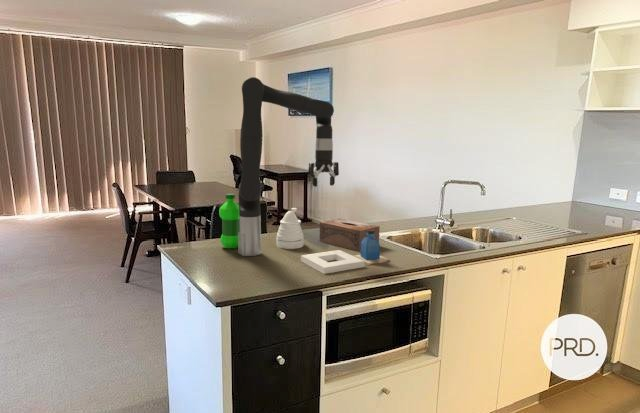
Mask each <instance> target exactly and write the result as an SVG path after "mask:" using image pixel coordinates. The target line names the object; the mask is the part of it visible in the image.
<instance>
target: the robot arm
mask: <svg viewBox="0 0 640 413" xmlns="http://www.w3.org/2000/svg"><path fill="white" fill-rule="evenodd" d="M241 94H242V108H243V109H242V110H243V111H242V120H241V127H240V139H239V142H240V143H239V144H240V145H239V148H240V158H241V159H240V160H241V180H240V183H239V185H238V205H239V230H240V232H238V247H237V248H238V249H237V250H238V254H239V255H241V257H255V256H259V255H261V254H262V242H261V241H262V238H261V236H262V228H261V227H262V226H261V222H262V220H261V216H262V214H261V212H262V210H261V197H260V196H261V193H262V189H261V188H262V187H261V173H260V172H261V171H260V170H261V169H260V168H261V160H262V152H263V121H262V105H263V103H269V104H273V105H276V106H279V107H284V108H286V109H289V110H292V111H296V112H299V113H302V114H307V115H312V116H315V122H316V124H315V125H316V129H315V130H316V131H315V133H316V134H315V136H316V137H315V155H314V158H315V162H309V163H308V174H307V176H308V177H309V178H310V177H311V178H312V180H311V181H312V183H311V184H312V186H313V187H314V188H317V187H318V176H319V175H320V174H321V173H328V175H329V186H334V185H335V182H336V181H335V180H336V179H335V178H336V177H337V176H339V175H340V170H339V162H337V161H333V150H334V149H333V147H334V144H333V142H334V141H333V126H332V116H333V115H334V112H335V109H334V106H333V105H332V103H331V102H328V101H325V100H321V99H315V98H312V97H309V96H305V95H303V94H299V93H296V92H292V91H291V92H290V91H285V90H280V89H277V88H273V87H271V86H268V85H266V84H264V83H263V81H262V80H261V79H259V78H257V77H254V76H252V77H251V76H250V77H247V78H246V79H245V80H244V81H243V83H242V85H241ZM332 167H333V168H332Z"/></svg>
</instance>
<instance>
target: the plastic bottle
mask: <svg viewBox="0 0 640 413" xmlns="http://www.w3.org/2000/svg"><path fill="white" fill-rule="evenodd" d="M225 199H226V201H225V203H223V204H222V205H221V206H219V210H218V212H219V213H218V214H219V217H220V219H221V223H222V224H221V225H222V226H221V228H222V229H221V230H222V234H221V236H220V243H221V245H222V246H223V247H224V248H226V249H227V248H234V249H237V248H238V232H240V226H239V204H238V203H236V202H235V199H236V194H235V193H225ZM236 247H237V248H236Z"/></svg>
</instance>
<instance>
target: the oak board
mask: <svg viewBox="0 0 640 413" xmlns="http://www.w3.org/2000/svg"><path fill="white" fill-rule="evenodd" d="M353 256H354V257H356V258H359V259H361V260H363V261H364V265H366V266H369V265H376V264H382V263H387V262H391V259H390V258H388V257H386V256H383V255H380V259H375V260H365V259H364V258H362V257H361V253H360V254H356V255H355V254H354V255H353Z"/></svg>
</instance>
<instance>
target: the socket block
mask: <svg viewBox="0 0 640 413" xmlns="http://www.w3.org/2000/svg"><path fill="white" fill-rule="evenodd" d="M300 262H301V263H304V264H305V265H307V266H309V267H310V268H312V269H315V271H318V272H320V273H321V274H324V275H325V274H333V273H337V272H344V271H348V270H354V269H359V268H365V264H364V261H363V260H361V259H359V258H356V257H354V255H352V254H350V253H348V252H345V251H343V250H340V249H336V250H329V251H322V252H315V253H310V254H309V253H308V254H302V255H300Z"/></svg>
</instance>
